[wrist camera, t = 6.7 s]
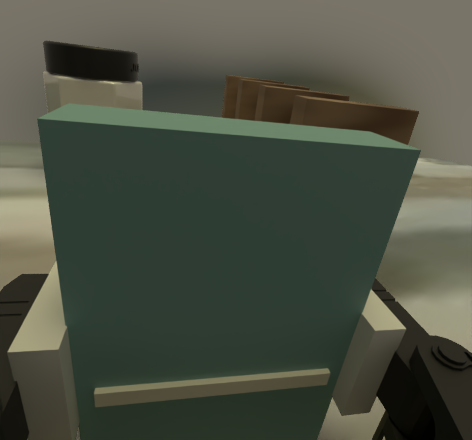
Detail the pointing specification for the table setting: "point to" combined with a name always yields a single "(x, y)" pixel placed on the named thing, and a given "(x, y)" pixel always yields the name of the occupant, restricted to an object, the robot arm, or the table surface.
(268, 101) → the domino
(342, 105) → the domino
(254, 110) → the domino
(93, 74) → the jar
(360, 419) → the table surface
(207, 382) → the domino teal
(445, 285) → the table surface
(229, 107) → the domino
